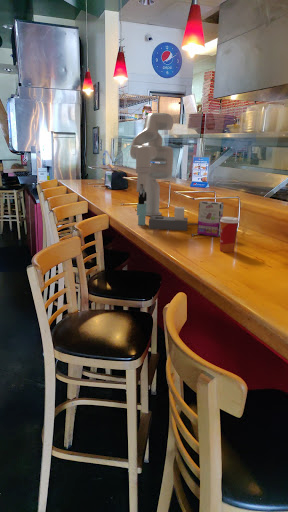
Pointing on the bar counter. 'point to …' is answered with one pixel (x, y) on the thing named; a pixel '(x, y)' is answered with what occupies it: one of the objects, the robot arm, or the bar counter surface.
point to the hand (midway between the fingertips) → (142, 202)
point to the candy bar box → (210, 218)
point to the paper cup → (228, 234)
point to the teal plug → (141, 213)
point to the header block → (170, 221)
